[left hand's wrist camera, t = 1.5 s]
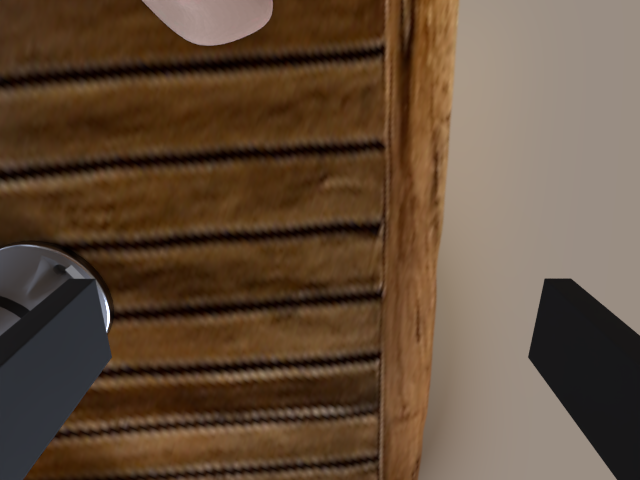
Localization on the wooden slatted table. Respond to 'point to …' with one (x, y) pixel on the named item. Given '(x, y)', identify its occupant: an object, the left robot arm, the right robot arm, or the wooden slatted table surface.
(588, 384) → the left robot arm
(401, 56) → the wooden slatted table surface
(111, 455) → the wooden slatted table surface
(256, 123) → the wooden slatted table surface
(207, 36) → the anatomical model
